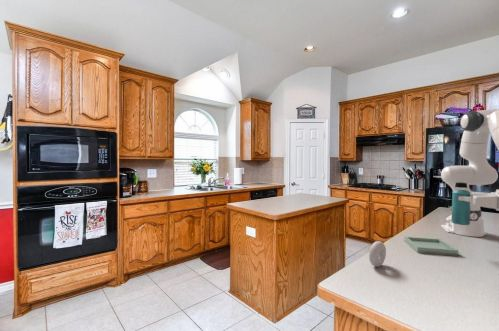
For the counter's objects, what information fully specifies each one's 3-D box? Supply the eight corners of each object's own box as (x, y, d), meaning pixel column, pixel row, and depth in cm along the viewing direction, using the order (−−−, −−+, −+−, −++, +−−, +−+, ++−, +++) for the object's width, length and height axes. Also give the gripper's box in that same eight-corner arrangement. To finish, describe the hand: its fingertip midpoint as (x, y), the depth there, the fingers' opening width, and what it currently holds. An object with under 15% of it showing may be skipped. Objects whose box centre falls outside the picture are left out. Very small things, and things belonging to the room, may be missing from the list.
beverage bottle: (473, 229, 108) (475, 183, 107) (456, 228, 109) (457, 183, 109) (464, 225, 114) (465, 181, 114) (447, 224, 116) (448, 181, 115)
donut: (376, 271, 94) (376, 245, 94) (367, 268, 97) (367, 242, 97) (387, 264, 101) (387, 239, 101) (378, 261, 103) (378, 237, 103)
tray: (404, 241, 129) (404, 236, 129) (439, 243, 125) (439, 238, 125) (417, 252, 113) (417, 247, 113) (458, 256, 110) (458, 250, 109)
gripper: (499, 190, 111) (458, 187, 120) (505, 195, 95) (458, 192, 104) (498, 204, 111) (458, 200, 120) (505, 211, 96) (458, 207, 105)
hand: (458, 196), depth 112 cm, fingers closed on beverage bottle, 6 cm apart
